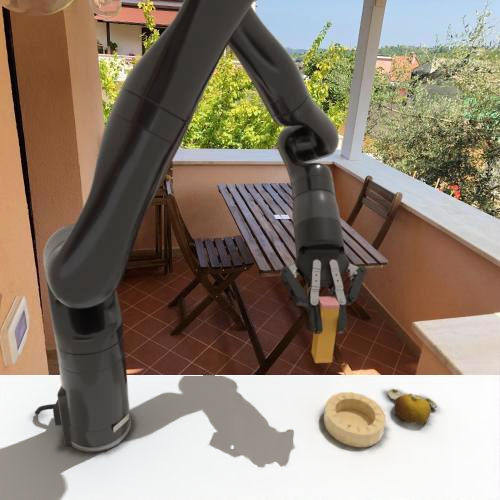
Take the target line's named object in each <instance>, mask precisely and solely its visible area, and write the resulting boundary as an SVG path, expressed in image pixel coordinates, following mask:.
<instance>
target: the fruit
mask: <svg viewBox="0 0 500 500" xmlns="http://www.w3.org/2000/svg"><path fill="white" fill-rule="evenodd" d="M387 394H388V397H389V398H390V399H392V400H394V405H393V410H394V414H395V416H396V418H397V419H398V420H399V421H400V422H402V423H409V424H418V425H420V426H423V425H424V424H426V423H427V421H428V420H429V418H430V415H431V410H432V409H436V408H438V405H437V403H436V402H435V401H434V400H432V399H430V398H429V397H428V398H423V397H422V396H420V395H418V394H413V393H400V392H399V390H398V389H395V388H394V389H392V388H391V389H389V390H388V391H387ZM430 405H432V406H434V407H432V409H431V406H430Z"/></svg>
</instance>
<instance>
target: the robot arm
mask: <svg viewBox="0 0 500 500" xmlns="http://www.w3.org/2000/svg"><path fill="white" fill-rule="evenodd" d="M254 2H255V0H183V1H182V4H181V6H180V8H179V10H178V11H177V13H176V15H175V16H174V18H173V19H172V21H171V22H170V24H169V25H168V26H167V27H166V28H165V30H164V31H163V32H162V33H161V35H160V36H159V37H158V38H156V40H155V41H154V42H153V43H152V44H151V46H150V47H149V48H148V49H147V50H146V51H145V52H144V54H143V55H142V56H141V57H140V58H139V59H138V60H137V62H135V65H134V66H133V67H132V68H131V70H130V71H129V72H128V74H127V75H126V78H125V80H124V81H123V83H122V85H121V87H120V90H119V92H118V94H117V96H116V98H115V101H114V103H113V105H112V107H111V110H110V112H109V114H108V117H107V119H106V122H105V124H104V128H103V132H102V135H101V139H100V143H99V148H98V153H97V156H96V162H95V165H94V166H95V167H94V173H93V177H92V182H91V186H90V189H89V192H88V195H87V198H86V201H85V203H84V205H83V207H82V209H81V211H80V213H79V215H78V217H77V219H76V221H75V223H71V224H67V225H64V226H62V227H60V228H59V229H57V230H56V231H55V232H53V233H52V235H50V237H49V238H48V240H47V242H46V243H45V246H44V249H43V254H42V262H43V270H44V275H45V283H46V289H47V295H48V296H47V297H48V303H49V311H50V318H51V323H52V324H51V325H52V330H53V336H54V344H55V348H56V356H57V357H56V358H57V363H58V370H59V375H60V376H59V377H60V383H61V385H60V388H59V389H58V391H57V395H56V396H57V400H56V402H55V403H52V404H51V403H50V404H44V405H41V406H39V407H38V408H36V410H35V411H34V415H36V416H39V414H41V412H43V411H47V410H52V412H53V419H54V425H55V426H61V429H62V436H63V442H64V446H72V447H73V448H74V449H76V450H77V451H81V452H84V453H99V452H103V451H108V450H109V449H112V448H114V447H115V446H117V445H119V444H120V443H121V442H123V441H124V440H125V438H127V436H128V435H129V433H130V431H131V428H132V418H131V411H130V399H129V386H128V385H129V384H128V374H127V373H128V371H127V359H126V347H125V334H124V318H123V313H122V310H121V305H120V301H119V296H118V289H119V287H120V285H121V283H122V281H123V279H124V275H125V273H126V270H127V267H128V264H129V261H130V258H131V255H132V252H133V249H134V246H135V243H136V240H137V237H138V234H139V232H140V229H141V227H142V224H143V222H144V219H145V217H146V215H147V213H148V211H149V209H150V206H151V205H152V203H153V201H154V199H155V197H156V195H157V193H158V191H159V189H160V187H161V185H162V183H163V181H164V178H165V176H166V174H167V172H168V170H169V168H170V166H171V165H172V162H173V160H174V158H175V157H176V155H177V153H178V151H179V149H180V146H181V144H182V143H183V140H184V138H185V136H186V133H187V132H188V129H189V127H190V126H191V123H192V120H193V118H194V116H195V113H196V111H197V108H198V106H199V104H200V102H201V100H202V98H203V96H204V94H205V92H206V90H207V88H208V86H209V84H210V82H211V79H212V78H213V76H214V73H215V72H216V69H217V67H218V65H219V63H220V61H221V59H222V56H223V54H224V53H225V51H226V49H227V47H229V49H230V51H231V52H232V53H233V55H234V56H235V58H236V59H237V60H238V62H239V64H240V65H241V66H242V69H244V71H245V73H246V74H247V76H248V79H250V81H251V83H252V84H253V87H254V88H255V90H256V92H257V94H258V96H259V97H260V100H261V102H262V103H263V105H264V107H265V109H266V110H267V112H268V115H269V116H270V118H271V120H272V121H273V122H274V123H275V124H276V125H277V126H280V127H284V128H283V129H281V131H280V132H279V133H278V137H277V139H276V147H277V151H278V153H279V155H280V158H281V160H282V162H283V164H284V166H285V169H286V171H287V174H288V178H289V183H290V187H291V188H290V189H291V196H292V198H291V199H292V228H293V236H294V245H295V246H294V247H295V260H294V262H293V264H291V265H289V266H287V265H283V266H282V268H281V270H280V272H279V275H278V277H279V279H280V281H281V282H282V284H283V285H284V287H285V288H286V290H287V292H288V293H289V295H290V298H291V299H292V301H293V302H294V304H295V305H296V306H298V307H304V308H306V309H307V313H308V322H309V323H308V324H309V329H310V331H313V334H314V333H315V334H321V333H322V331H323V327H322V318H321V313H320V306H318V303H319V297H320V289H321V287H324V288H327V290H328V294H329V296H334V297H335V298H336V300H337V301H338V303H339V305H340V307H339V314H338V321H337V328H336V335H342V334H343V333H344V332H345V330H346V329H347V328H348V325H349V323H348V322H349V321H348V316H347V309H346V308H347V306H351V305H352V304H353V303H354V302H356V300H358V297H359V294H360V292H361V291H360V290H361V288H362V285H363V282H364V279H365V276H366V273H367V267H366V266H364V265H360V266H357V265H355V264H353V263H351V262H350V260H349V258H348V257H347V254H346V252H345V241H344V235H343V229H342V228H343V227H342V222H341V215H340V209H339V205H338V202H337V198H336V190H335V183H334V176H333V173H332V170H331V168H330V167H329V166H328V165H326V164H323V163H320V162H314V161H317V160H321V159H324V158H328V157H330V156H332V155H333V154H334V153H336V151H337V149H338V147H339V144H340V143H339V142H340V139H339V138H340V137H339V132H338V130H337V127H336V126H335V124H334V122H333V121H332V120H331V118H330V117H329V116H328V115H327V114H326V113H325V112H324V111H323V110H322V109H321V107H320V106H318V104H317V102H315V100H314V98H312V96H311V94H310V92H309V90H308V88H307V85H306V83H305V80H304V78H303V75H302V74H301V71H300V69H299V67H298V65H297V64H296V62H295V60H294V59H293V58H292V56H291V55H290V53H289V51H287V49H286V48H285V47H284V46H283V44H282V43H281V42H280V41H279V40H278V39H277V38H276V36H275V35H274V34H273V33H272V32H271V31H270V30H269V29H268V27H267V26H266V25H265V24H264V22H263V21H262V20H261V18H260V17H259V15H258V14H257V13H256V11H255V10H254V8H253V6H252V5H253V4H254ZM346 272H347V273H348V279H349V280H351V281H350V283H349V286H348V289H347V292H346V294H345V292H344V284H343V283H344V282H343V277H344V275H345V274H346ZM298 275H299V276H300V277H301V278H302V279H303V280H304V282H305V283H306V294H305V292H304V291H303V289H302V287H301V285H300V284H299V282H298V280H297V276H298Z"/></svg>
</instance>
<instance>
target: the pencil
mask: <svg viewBox="0 0 500 500" xmlns="http://www.w3.org/2000/svg"><path fill="white" fill-rule="evenodd" d="M318 306H320V313H321V318H322V327H323V331H322V333H321V334H315V333H314V332H313V335H312V343H311V352H310V353H311V356H312V359H313V361H314V363H315V364H329V363H333V356H334V350H335V342H336V335H337V334H336V328H337V321H338V314H339V307H340V305H339V303H338V301H337V300H336V298H335V297H334V296H331V295H329V296H319V303H318Z"/></svg>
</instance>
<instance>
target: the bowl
mask: <svg viewBox="0 0 500 500" xmlns="http://www.w3.org/2000/svg"><path fill="white" fill-rule="evenodd" d="M323 423H324V426H325V428H326V430H327V432H328V433H329V434H330V436H331V437H333V438H334V439H335V440H337V441H338V442H340V443H342V444H345V445H347V446H350V447H354V448H368V447H372V446H375V445H376V444H377V443H379V441H381V439H382V437H383V436H384V432H385V428H386V413H385V412H384V410H383V408H382V407H381V405H379V404H378V403H377V402H376V401H375V400H374V399H372V398H370V397H367V396H366V395H365V394H361V393H356V392H352V391H351V392H349V391H348V392H339V393H337V394H333V395H331V396H330V398H328V399H327V401H326V403H325V407H324V414H323Z"/></svg>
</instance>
